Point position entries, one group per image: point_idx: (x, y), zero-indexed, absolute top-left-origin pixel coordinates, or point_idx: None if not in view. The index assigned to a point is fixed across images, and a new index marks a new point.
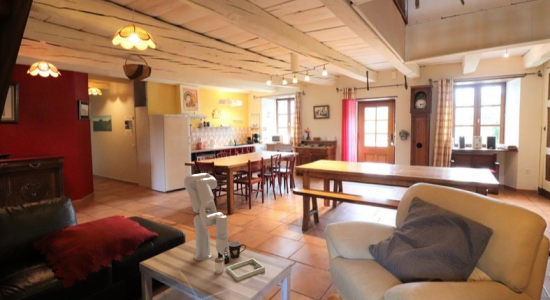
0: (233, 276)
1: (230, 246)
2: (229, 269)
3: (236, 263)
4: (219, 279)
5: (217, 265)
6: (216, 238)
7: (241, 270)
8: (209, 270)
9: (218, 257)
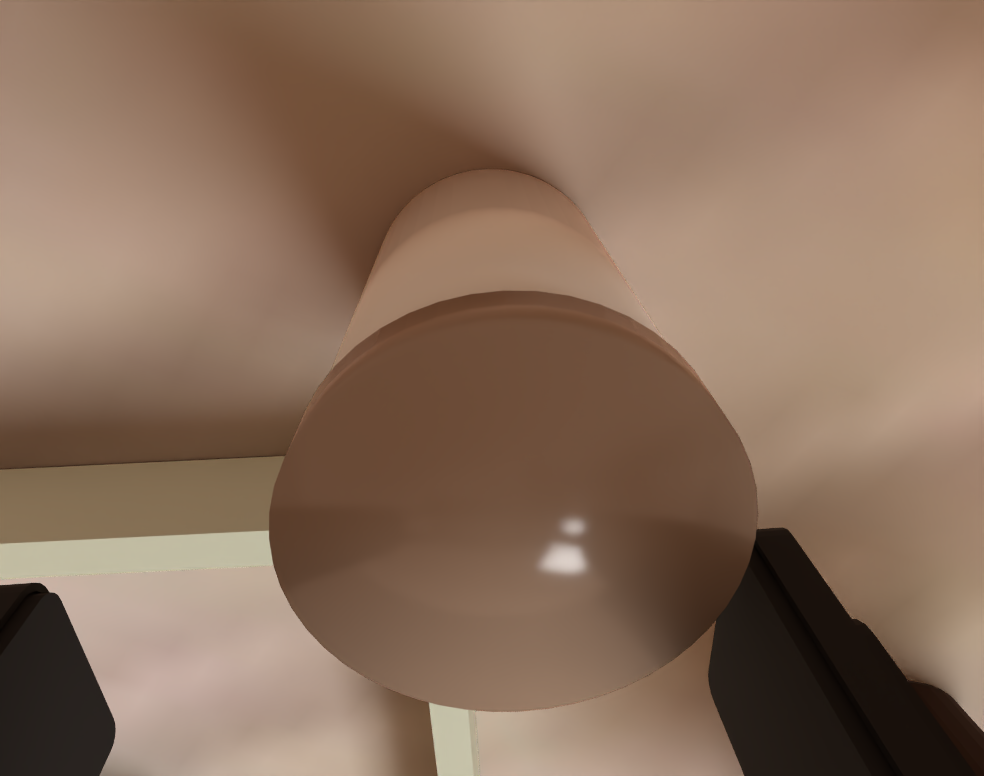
0: (41, 492)
1: None
2: (260, 537)
3: (466, 735)
4: (137, 149)
5: (377, 303)
6: None
7: (316, 676)
8: (798, 67)
9: (726, 581)
